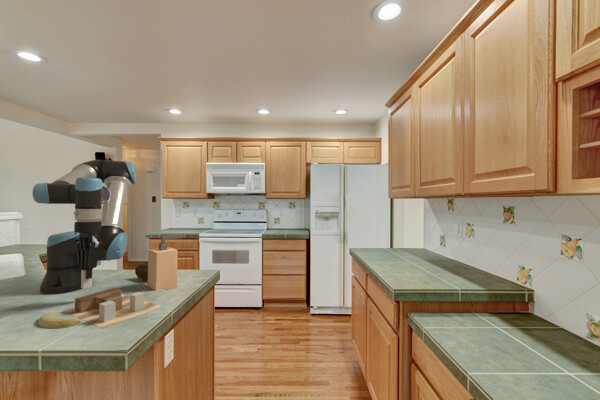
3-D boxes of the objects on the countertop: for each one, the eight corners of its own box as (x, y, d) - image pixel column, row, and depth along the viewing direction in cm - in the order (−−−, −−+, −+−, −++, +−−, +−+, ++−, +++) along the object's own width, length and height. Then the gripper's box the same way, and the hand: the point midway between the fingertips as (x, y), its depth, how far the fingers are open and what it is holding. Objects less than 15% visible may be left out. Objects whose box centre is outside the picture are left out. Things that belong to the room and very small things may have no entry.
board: (62, 313, 86) (62, 310, 86) (121, 296, 102) (121, 293, 102) (103, 331, 75) (103, 328, 75) (161, 309, 91) (161, 306, 91)
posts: (98, 320, 80) (99, 303, 80) (138, 306, 90) (138, 291, 90) (104, 322, 78) (104, 305, 78) (144, 308, 89) (144, 293, 89)
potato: (153, 275, 130) (153, 257, 130) (163, 280, 122) (163, 261, 122) (133, 279, 124) (134, 260, 124) (143, 284, 116) (143, 264, 116)
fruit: (48, 338, 72) (48, 326, 72) (32, 323, 80) (32, 312, 80) (81, 328, 78) (81, 317, 78) (63, 315, 86) (63, 305, 86)
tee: (74, 310, 86) (75, 298, 86) (114, 298, 97) (114, 287, 97) (94, 318, 81) (94, 305, 81) (134, 305, 92) (134, 293, 92)
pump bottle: (155, 293, 106) (156, 238, 106) (147, 288, 112) (148, 236, 112) (186, 285, 116) (187, 235, 116) (177, 281, 122) (178, 233, 122)
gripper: (66, 220, 94) (64, 287, 94) (85, 222, 88) (83, 293, 88) (90, 219, 101) (89, 282, 100) (110, 221, 95) (108, 287, 94)
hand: (86, 287), depth 94 cm, fingers closed
